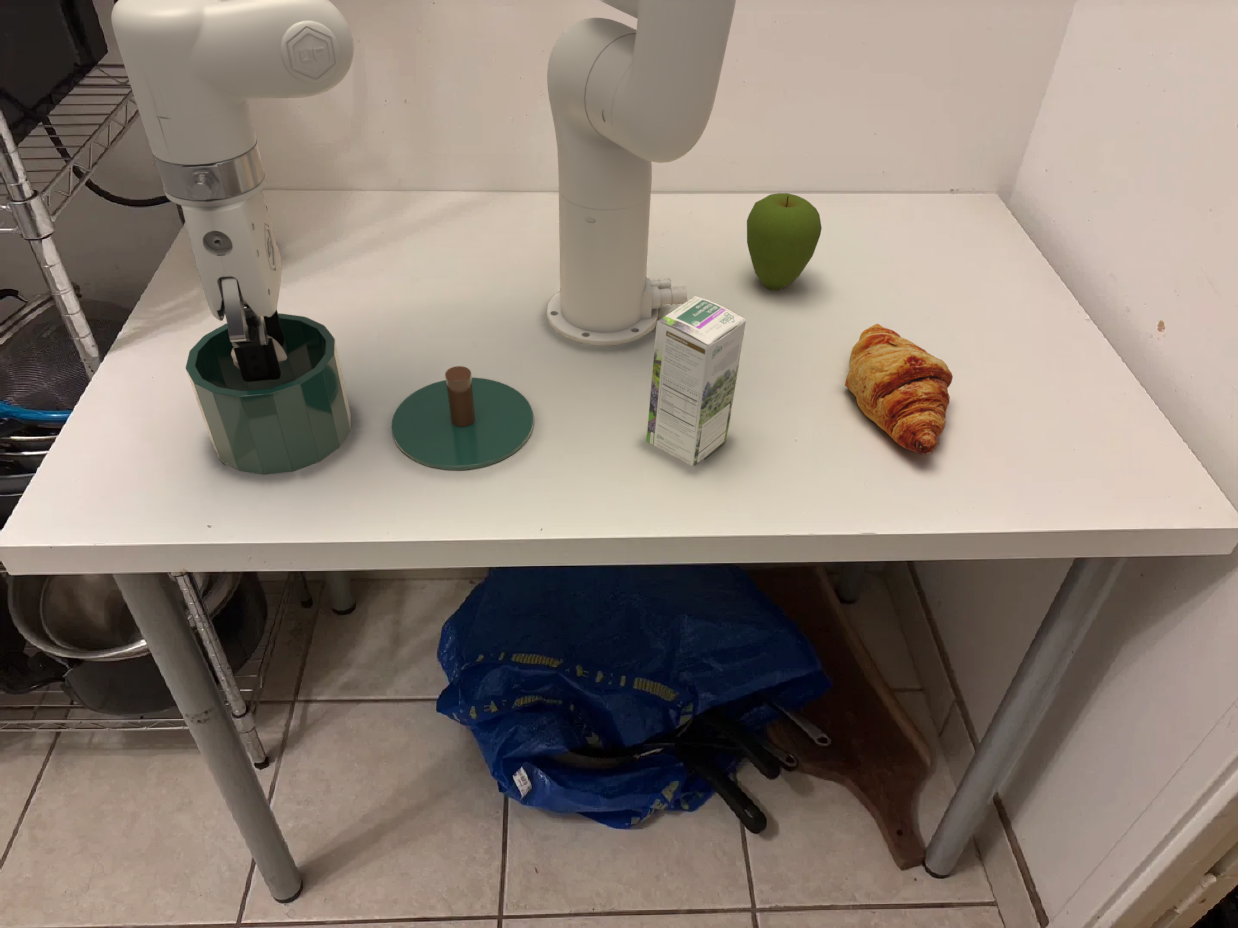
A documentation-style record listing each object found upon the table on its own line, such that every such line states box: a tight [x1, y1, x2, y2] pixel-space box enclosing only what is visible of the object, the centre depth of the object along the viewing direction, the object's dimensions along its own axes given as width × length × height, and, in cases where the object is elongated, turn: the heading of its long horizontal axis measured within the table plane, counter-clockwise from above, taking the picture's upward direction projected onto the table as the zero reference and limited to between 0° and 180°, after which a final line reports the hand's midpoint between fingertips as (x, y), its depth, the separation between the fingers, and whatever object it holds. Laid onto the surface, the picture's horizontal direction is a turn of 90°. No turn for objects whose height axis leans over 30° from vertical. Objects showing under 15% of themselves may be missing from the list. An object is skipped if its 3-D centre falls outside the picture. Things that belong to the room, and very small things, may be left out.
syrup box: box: [645, 295, 747, 467], centre depth 85 cm, size 6×6×14 cm
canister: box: [185, 312, 352, 476], centre depth 86 cm, size 13×13×10 cm
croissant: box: [844, 323, 953, 455], centre depth 94 cm, size 21×10×8 cm, turn 3°
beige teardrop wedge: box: [231, 335, 287, 368], centre depth 83 cm, size 4×5×2 cm
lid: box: [391, 365, 535, 471], centre depth 88 cm, size 14×14×7 cm
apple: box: [746, 192, 823, 291], centre depth 109 cm, size 9×8×12 cm
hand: (264, 360), depth 84 cm, fingers closed on beige teardrop wedge, 4 cm apart
